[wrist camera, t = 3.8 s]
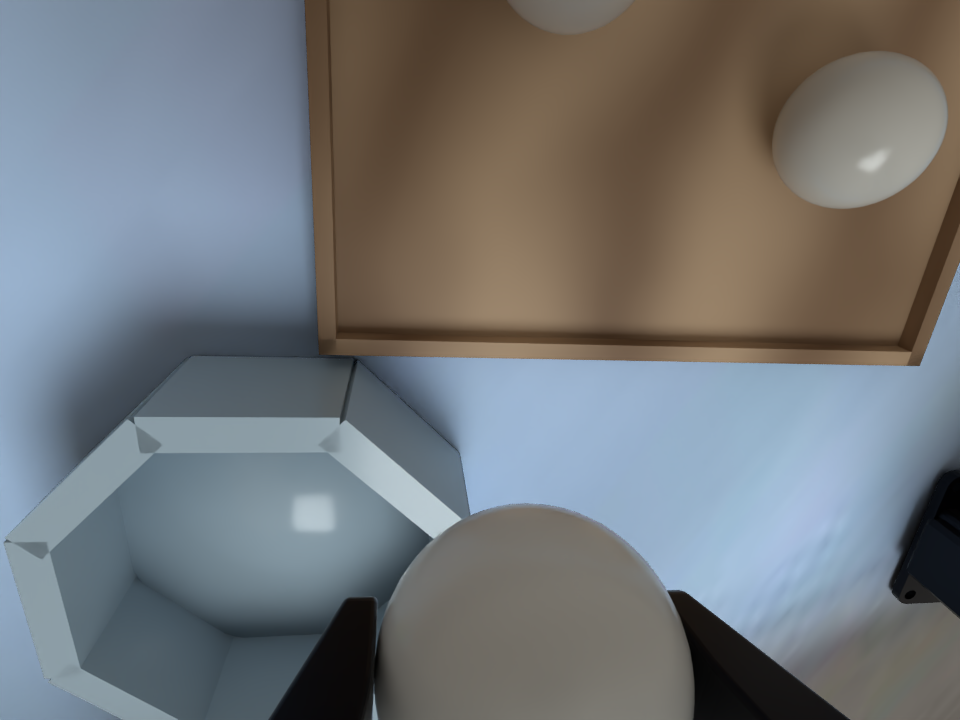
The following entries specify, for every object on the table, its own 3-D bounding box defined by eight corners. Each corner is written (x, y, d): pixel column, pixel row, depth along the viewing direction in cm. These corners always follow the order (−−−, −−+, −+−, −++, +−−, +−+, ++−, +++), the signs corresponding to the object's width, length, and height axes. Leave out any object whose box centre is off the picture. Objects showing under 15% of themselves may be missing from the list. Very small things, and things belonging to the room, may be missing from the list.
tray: (1074, -132, 15) (1117, -149, 14) (896, 355, 20) (919, 366, 19) (301, -258, 12) (293, -290, 11) (323, 342, 17) (319, 354, 17)
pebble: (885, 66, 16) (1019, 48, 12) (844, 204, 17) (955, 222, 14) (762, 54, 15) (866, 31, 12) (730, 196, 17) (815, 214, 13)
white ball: (645, 450, 8) (823, 684, 5) (600, 642, 10) (711, 932, 6) (384, 446, 8) (369, 707, 4) (376, 650, 9) (359, 975, 6)
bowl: (466, 360, 18) (481, 418, 15) (448, 636, 23) (457, 734, 19) (62, 353, 17) (-35, 416, 13) (128, 652, 21) (69, 762, 17)
